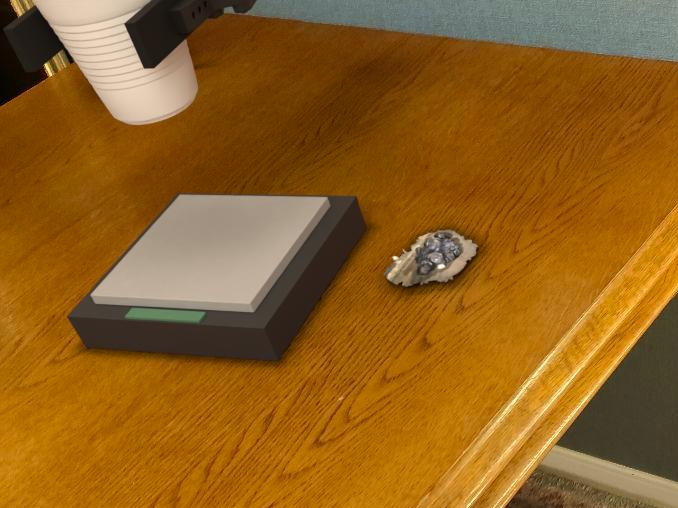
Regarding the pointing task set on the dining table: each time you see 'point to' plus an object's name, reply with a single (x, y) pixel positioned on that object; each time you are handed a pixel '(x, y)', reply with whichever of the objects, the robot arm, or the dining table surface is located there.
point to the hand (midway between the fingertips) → (78, 48)
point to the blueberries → (432, 259)
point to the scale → (221, 275)
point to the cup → (121, 60)
